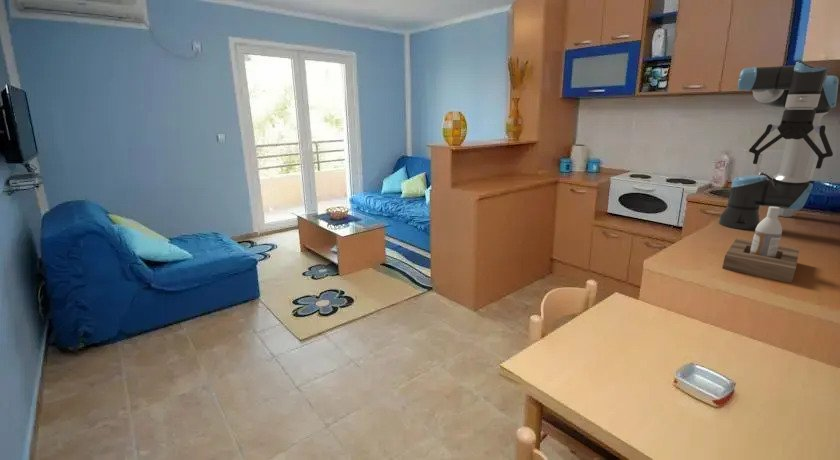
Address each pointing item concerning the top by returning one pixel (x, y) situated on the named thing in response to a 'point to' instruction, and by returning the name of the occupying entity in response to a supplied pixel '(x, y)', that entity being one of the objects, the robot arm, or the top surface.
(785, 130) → the robot arm
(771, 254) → the bath foam
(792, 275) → the walnut holder
